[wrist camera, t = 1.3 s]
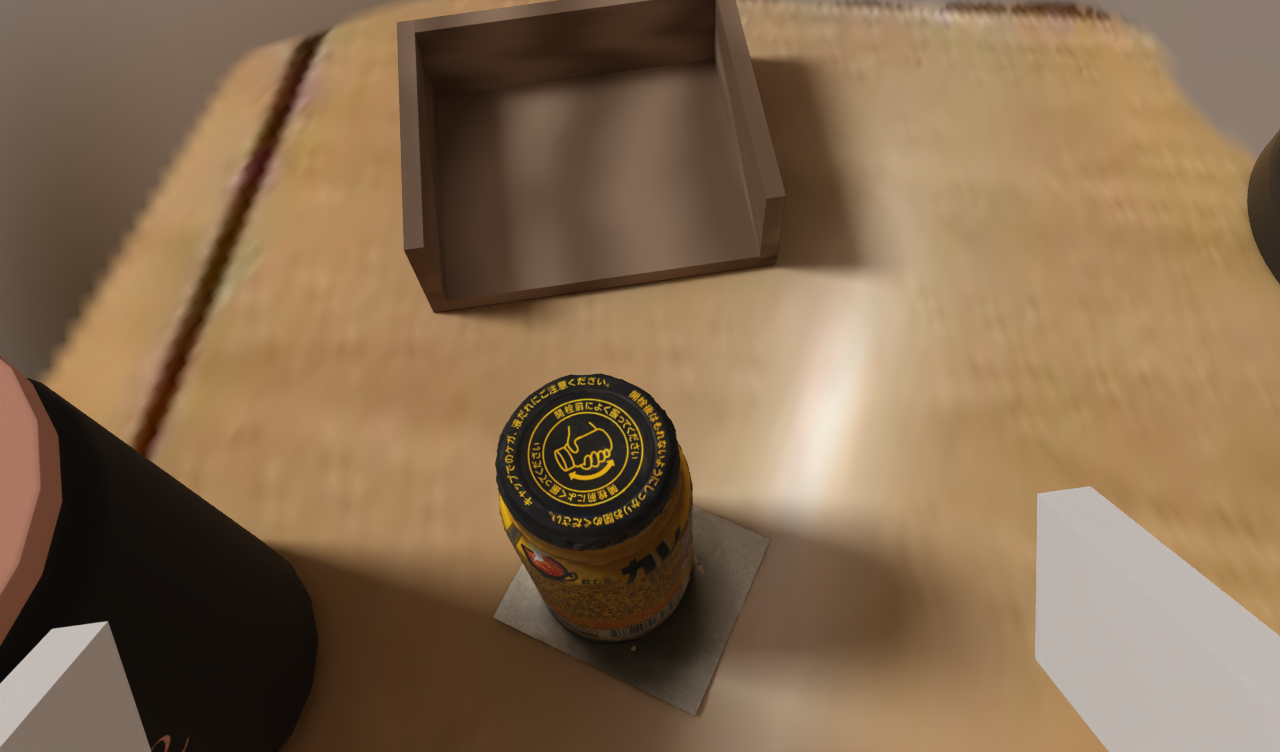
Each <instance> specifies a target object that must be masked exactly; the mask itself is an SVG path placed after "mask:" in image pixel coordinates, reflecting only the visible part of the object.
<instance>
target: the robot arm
mask: <svg viewBox="0 0 1280 752" xmlns="http://www.w3.org/2000/svg"><path fill="white" fill-rule="evenodd" d="M1247 203H1248V215H1249V221H1250V225H1251V229H1252V233H1253V236H1254V239H1255V242H1256V244H1257V246H1258V249H1259V251H1260V253H1261V255H1262V257H1263V259H1264V261H1265V263H1266V264H1267V266H1268V267H1269V269H1270V271H1271V272H1272V274H1273V275H1274V277H1275V278H1276V279H1277V281H1278V282H1279V283H1280V130H1279V131H1278V132H1277V134H1276V135H1275V136H1274V137H1273V139H1272V140H1271V141H1270V142H1269V143H1268V145H1267V146H1266V147H1265V148H1264V150H1263V151H1262V153H1261V154H1260V156H1259V157H1258V159H1257V161H1256V163H1255V165H1254V168H1253V171H1252V173H1251V177H1250V181H1249V187H1248V198H1247ZM1035 659H1036V661H1037V662H1038V663H1039V664H1040V666H1041V667H1042V668H1043V669H1044V671H1045V672H1046V673H1047V674H1048V676H1049V677H1050V678H1051V680H1052V681H1053V682H1054V683H1055V685H1056V686H1057V687H1058V688H1059V690H1060V691H1061V692H1062V693H1063V695H1064V696H1065V697H1066V698H1067V700H1068V701H1069V702H1070V703H1071V705H1072V706H1073V707H1074V708H1075V710H1076V711H1077V712H1078V713H1079V715H1080V716H1081V717H1082V718H1083V720H1084V721H1085V722H1086V724H1087V725H1088V726H1089V727H1090V729H1091V730H1092V731H1093V732H1094V734H1095V735H1096V736H1097V737H1098V739H1099V740H1100V741H1101V742H1102V744H1103V745H1104V746H1105V747H1106V749H1107V750H1108V751H1109V752H1280V636H1279V635H1278V634H1277V633H1275V632H1274V631H1273V630H1271V629H1270V628H1269V627H1268V626H1266V625H1265V624H1264V623H1263V622H1261V621H1260V620H1259V619H1258V618H1256V617H1255V616H1254V615H1252V614H1251V613H1250V612H1249V611H1247V610H1246V609H1245V608H1244V607H1242V606H1241V605H1240V604H1239V603H1237V602H1236V601H1235V600H1233V599H1232V598H1231V597H1230V596H1228V595H1227V594H1226V593H1225V592H1223V591H1222V590H1221V589H1220V588H1218V587H1217V586H1216V585H1214V584H1213V583H1212V582H1211V581H1209V580H1208V579H1207V578H1206V577H1204V576H1203V575H1202V574H1201V573H1199V572H1198V571H1197V570H1195V569H1194V568H1193V567H1192V566H1190V565H1189V564H1188V563H1187V562H1185V561H1184V560H1183V559H1182V558H1180V557H1179V556H1178V555H1176V554H1175V553H1174V552H1173V551H1171V550H1170V549H1169V548H1168V547H1166V546H1165V545H1164V544H1163V543H1161V542H1160V541H1159V540H1157V539H1156V538H1155V537H1154V536H1152V535H1151V534H1150V533H1149V532H1147V531H1146V530H1145V529H1144V528H1142V527H1141V526H1140V525H1138V524H1137V523H1136V522H1135V521H1133V520H1132V519H1131V518H1130V517H1128V516H1127V515H1126V514H1125V513H1123V512H1122V511H1121V510H1119V509H1118V508H1117V507H1116V506H1114V505H1113V504H1112V503H1111V502H1109V501H1108V500H1107V499H1106V498H1104V497H1103V496H1102V495H1100V494H1099V493H1098V492H1097V491H1095V490H1094V489H1093V488H1092V487H1090V486H1089V487H1082V488H1075V489H1067V490H1060V491H1053V492H1045V493H1038V498H1037V567H1036V635H1035ZM0 752H151V749H150V746H149V743H148V740H147V737H146V734H145V731H144V728H143V725H142V722H141V719H140V716H139V713H138V710H137V707H136V704H135V701H134V698H133V695H132V692H131V689H130V686H129V683H128V680H127V677H126V674H125V671H124V668H123V665H122V662H121V659H120V656H119V653H118V650H117V647H116V644H115V641H114V638H113V635H112V632H111V629H110V626H109V623H108V621H106V622H99V623H91V624H84V625H77V626H70V627H62V628H55V629H51V630H50V632H49V633H48V634H47V635H46V636H45V637H44V638H43V639H42V640H41V641H40V642H39V643H38V644H37V645H36V646H35V647H34V648H33V650H32V651H31V652H30V653H29V654H28V655H27V656H26V657H25V658H24V659H23V660H22V661H21V662H20V663H19V664H18V665H17V666H16V668H15V669H14V670H13V671H12V672H11V673H10V674H9V675H8V676H7V677H6V678H5V679H4V680H3V681H2V682H1V683H0Z"/></svg>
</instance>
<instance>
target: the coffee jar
mask: <svg viewBox="0 0 1280 752" xmlns="http://www.w3.org/2000/svg"><path fill="white" fill-rule="evenodd" d="M106 621H108V623H109V626H110V629H111V632H112V635H113V638H114V641H115V644H116V647H117V650H118V653H119V656H120V659H121V662H122V665H123V668H124V671H125V674H126V677H127V680H128V683H129V686H130V689H131V692H132V695H133V698H134V701H135V704H136V707H137V710H138V713H139V716H140V719H141V722H142V725H143V728H144V731H145V734H146V737H147V740H148V743H149V746H150V749H151V752H278V751H279V749H280V748H281V747H282V746H283V744H284V743H285V742H286V741H287V739H288V738H289V737H290V736H291V734H292V733H293V730H294V728H295V726H296V723H297V721H298V719H299V717H300V714H301V712H302V710H303V708H304V705H305V703H306V701H307V699H308V696H309V694H310V692H311V690H312V684H313V677H314V669H315V662H316V655H317V647H318V636H317V630H316V625H315V619H314V614H313V608H312V602H311V598H310V596H309V594H308V593H307V591H306V589H305V588H304V586H303V584H302V582H301V581H300V579H299V577H298V576H297V574H296V572H295V570H294V569H293V567H292V565H291V564H290V563H289V562H288V561H286V560H285V559H284V558H283V557H281V556H280V555H279V554H278V553H276V552H275V551H274V550H272V549H271V548H270V547H269V546H267V545H266V544H265V543H264V542H262V541H261V540H260V539H258V538H257V537H256V536H254V535H253V534H251V533H250V532H249V531H247V530H246V529H244V528H243V527H242V526H240V525H239V524H237V523H236V522H235V521H233V520H232V519H230V518H229V517H228V516H226V515H225V514H224V513H222V512H221V511H219V510H218V509H217V508H215V507H214V506H212V505H211V504H210V503H208V502H207V501H205V500H204V499H203V498H201V497H200V496H198V495H197V494H196V493H194V492H193V491H191V490H190V489H189V488H187V487H186V486H185V485H183V484H182V483H180V482H179V481H178V480H176V479H175V478H173V477H172V476H171V475H169V474H168V473H166V472H165V471H164V470H162V469H161V468H159V467H158V466H157V465H155V464H154V463H153V462H151V461H150V460H148V459H147V458H146V457H144V456H143V455H141V454H140V453H139V452H137V451H136V450H134V449H133V448H132V447H130V446H129V445H127V444H126V443H125V442H123V441H122V440H120V439H119V438H118V437H116V436H115V435H114V434H112V433H111V432H109V431H108V430H107V429H105V428H104V427H102V426H101V425H100V424H98V423H97V422H95V421H94V420H93V419H91V418H90V417H88V416H87V415H86V414H84V413H83V412H81V411H80V410H79V409H77V408H76V407H75V406H73V405H72V404H70V403H69V402H68V401H66V400H65V399H63V398H62V397H61V396H59V395H58V394H56V393H55V392H54V391H52V390H51V389H49V388H48V387H47V386H45V385H44V384H43V383H41V382H38V381H35V380H32V379H29V378H26V377H24V376H23V375H22V374H21V373H20V372H19V371H18V370H17V369H15V368H14V367H13V366H12V365H10V364H9V363H8V362H7V361H5V360H4V359H3V358H2V357H0V683H1V682H2V681H3V680H4V679H5V678H6V677H7V676H8V675H9V674H10V673H11V672H12V671H13V670H14V669H15V668H16V666H17V665H18V664H19V663H20V662H21V661H22V660H23V659H24V658H25V657H26V656H27V655H28V654H29V653H30V652H31V651H32V650H33V648H34V647H35V646H36V645H37V644H38V643H39V642H40V641H41V640H42V639H43V638H44V637H45V636H46V635H47V634H48V633H49V632H50V630H51V629H55V628H62V627H70V626H77V625H84V624H91V623H99V622H106Z"/></svg>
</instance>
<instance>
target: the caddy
mask: <svg viewBox="0 0 1280 752" xmlns="http://www.w3.org/2000/svg"><path fill="white" fill-rule="evenodd" d="M397 40H398V72H399V105H400V138H401V170H402V203H403V235H404V251H405V253H406V255H407V257H408V259H409V262H410V264H411V266H412V268H413V270H414V272H415V274H416V276H417V278H418V280H419V282H420V285H421V287H422V289H423V291H424V293H425V295H426V297H427V299H428V301H429V303H430V306H431V308H432V310H433V312H434V313H435V312H442V311H449V310H456V309H463V308H470V307H477V306H484V305H491V304H498V303H505V302H512V301H519V300H526V299H533V298H540V297H547V296H554V295H561V294H568V293H575V292H582V291H589V290H596V289H603V288H610V287H617V286H624V285H631V284H638V283H645V282H652V281H659V280H666V279H673V278H680V277H687V276H694V275H701V274H708V273H715V272H722V271H729V270H736V269H743V268H750V267H757V266H764V265H771V264H776V260H777V253H778V246H779V239H780V233H781V226H782V219H783V212H784V206H785V199H786V194H785V190H784V186H783V183H782V179H781V175H780V171H779V167H778V163H777V159H776V155H775V152H774V148H773V144H772V140H771V136H770V132H769V128H768V124H767V121H766V117H765V113H764V109H763V105H762V101H761V97H760V93H759V90H758V86H757V82H756V78H755V74H754V70H753V66H752V63H751V59H750V55H749V51H748V47H747V43H746V39H745V35H744V32H743V28H742V24H741V20H740V16H739V12H738V8H737V4H736V1H735V0H557V1H550V2H542V3H535V4H528V5H520V6H513V7H506V8H499V9H491V10H484V11H477V12H469V13H462V14H455V15H447V16H440V17H433V18H425V19H418V20H411V21H403V22H397Z"/></svg>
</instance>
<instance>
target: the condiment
mask: <svg viewBox="0 0 1280 752" xmlns="http://www.w3.org/2000/svg"><path fill="white" fill-rule="evenodd" d="M495 466H496V472H497V476H496V482H497V484H498V490H499V501H500V515H501V518H502V522H503V525H504V530H505V531H506V533H507V535H508V538H509V539H510V541H511V543H512V545H513V546H514V548H515V550H516V552H517V554H518V555H519V557H520V559H521V561H522V565H521V567H520V568H519V570H518V572H517V573H516V575H515V577H514V579H513V581H512V582H511V584H510V586H509V588H508V590H507V592H506V593H505V595H504V597H503V599H502V601H501V603H500V605H499V606H498V608H497V610H496V612H495V614H494V616H493V618H495V619H497V620H499V621H501V622H503V623H505V624H507V625H509V626H511V627H513V628H515V629H517V630H519V631H521V632H523V633H525V634H527V635H529V636H531V637H533V638H535V639H537V640H540V641H542V642H544V643H546V644H548V645H550V646H552V647H554V648H556V649H558V650H560V651H562V652H564V653H566V654H568V655H570V656H572V657H574V658H576V659H578V660H580V661H582V662H585V663H587V664H589V665H591V666H593V667H595V668H597V669H599V670H601V671H604V672H606V673H608V674H610V675H612V676H614V677H616V678H618V679H620V680H622V681H624V682H626V683H628V684H630V685H632V686H634V687H636V688H638V689H640V690H642V691H644V692H646V693H648V694H650V695H652V696H654V697H657V698H659V699H661V700H663V701H665V702H667V703H669V704H671V705H673V706H675V707H677V708H679V709H681V710H683V711H685V712H688V713H690V714H692V715H694V716H695V715H696V713H697V711H698V708H699V706H700V704H701V701H702V699H703V696H704V694H705V692H706V690H707V687H708V685H709V683H710V680H711V678H712V676H713V673H714V671H715V669H716V666H717V664H718V662H719V659H720V657H721V655H722V653H723V650H724V648H725V645H726V643H727V640H728V638H729V636H730V634H731V631H732V629H733V627H734V624H735V622H736V619H737V617H738V615H739V611H740V610H741V608H742V606H743V603H744V601H745V598H746V596H747V593H748V591H749V589H750V586H751V584H752V582H753V580H754V577H755V575H756V573H757V570H758V567H759V565H760V563H761V561H762V558H763V556H764V554H765V551H766V549H767V546H768V544H769V542H770V539H769V538H766V537H764V536H762V535H759V534H757V533H755V532H753V531H751V530H749V529H746V528H744V527H741V526H738V525H736V524H734V523H732V522H730V521H728V520H726V519H724V518H721V517H718V516H715V515H713V514H711V513H709V512H706V511H704V510H702V509H700V508H698V507H695V506H693V503H692V499H693V497H692V496H693V495H692V490H693V488H692V481H691V476H690V472H689V467H688V464H687V461H686V458H685V456H684V455H683V452H682V449H681V446H680V445H679V444H678V441H677V439H676V430H675V428H674V425H673V423H672V421H671V420H670V419H669V417H668V416H667V414H666V412H665V410H663V409H662V408H661V407H660V406H659V405H658V403H656V402H655V400H654V398H652V396H651V395H650V394H648V393H647V392H645V391H644V390H642V389H641V388H639V387H637V386H635V385H633V384H630V383H628V382H626V381H624V380H622V379H617V378H614V377H612V376H608V375H604V374H592V375H568V376H564V377H561V378H559V379H556V380H554V381H552V382H550V383H547V384H546V385H544V386H543V387H542V388H540V389H538V390H537V391H535V392H534V393H532V394H531V395H529V396H528V397H527V398H526V399H525V400H524V401H523V402H522V403H521V404H520V406H519V407H518V408H517V409H516V410H515V412H514V413H513V414H512V416H511V417H510V419H509V421H508V422H507V423H506V425H505V427H504V429H503V431H502V434H501V435H500V439H499V442H498V449H497V458H496V463H495ZM695 555H696V556H697V557H698V560H699V562H698V564H701V565H702V566H703V568H704V570H705V572H704V574H701V572H700V571H699V569H698V564H697V563H695V562H694V560H693V557H694V556H695ZM633 645H634V646H636V648H637V649H636V651H633V650H630V649H631V647H632V646H633Z"/></svg>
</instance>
